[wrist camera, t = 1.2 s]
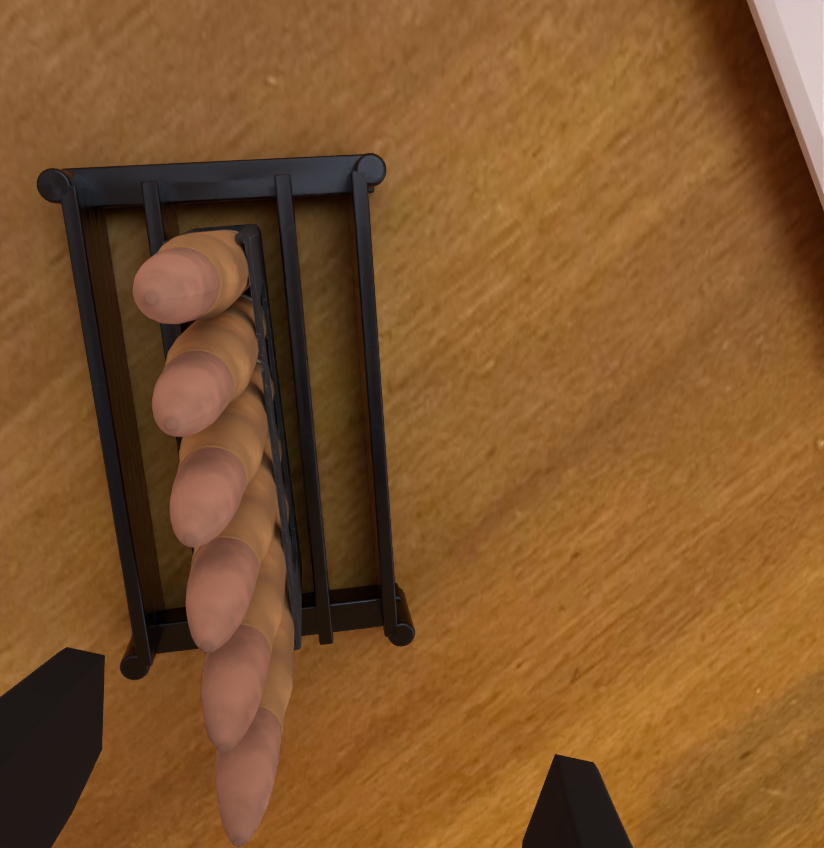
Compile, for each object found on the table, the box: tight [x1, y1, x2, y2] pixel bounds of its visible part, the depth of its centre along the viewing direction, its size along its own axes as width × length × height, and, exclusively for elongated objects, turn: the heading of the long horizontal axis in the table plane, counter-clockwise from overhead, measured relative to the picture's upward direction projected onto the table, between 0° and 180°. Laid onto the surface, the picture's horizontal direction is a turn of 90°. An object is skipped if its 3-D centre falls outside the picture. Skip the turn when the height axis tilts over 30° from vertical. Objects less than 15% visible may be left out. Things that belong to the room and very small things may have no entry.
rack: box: [37, 153, 415, 680], centre depth 22 cm, size 8×14×2 cm, turn 3°
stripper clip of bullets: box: [133, 224, 302, 847], centre depth 17 cm, size 11×2×12 cm, turn 4°
